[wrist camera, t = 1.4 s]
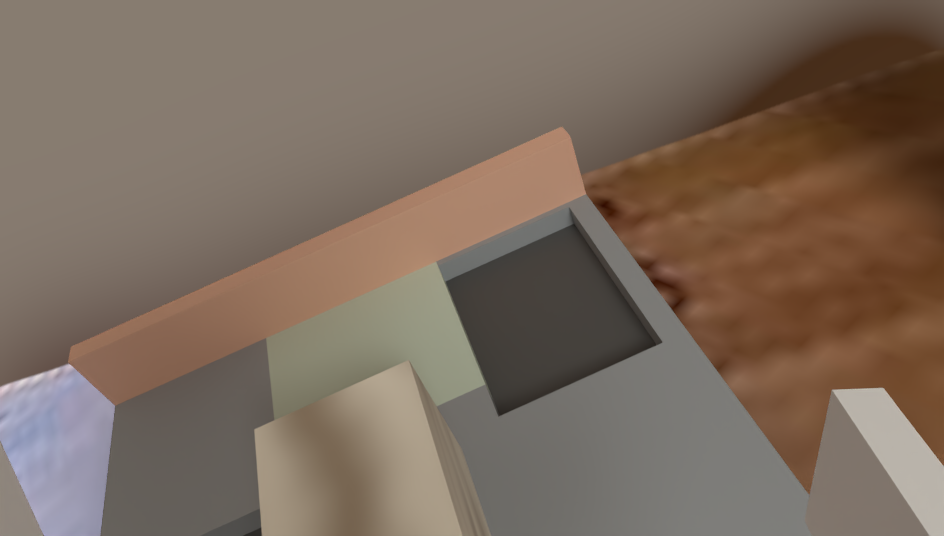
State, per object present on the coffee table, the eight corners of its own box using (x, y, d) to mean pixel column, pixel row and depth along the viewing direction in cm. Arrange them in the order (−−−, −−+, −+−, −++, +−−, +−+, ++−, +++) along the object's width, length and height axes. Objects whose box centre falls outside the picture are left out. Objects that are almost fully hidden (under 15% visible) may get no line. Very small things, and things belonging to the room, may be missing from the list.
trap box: (583, 204, 55) (562, 126, 50) (852, 575, 32) (857, 496, 28) (134, 406, 55) (71, 346, 50) (88, 922, 32) (-35, 900, 28)
